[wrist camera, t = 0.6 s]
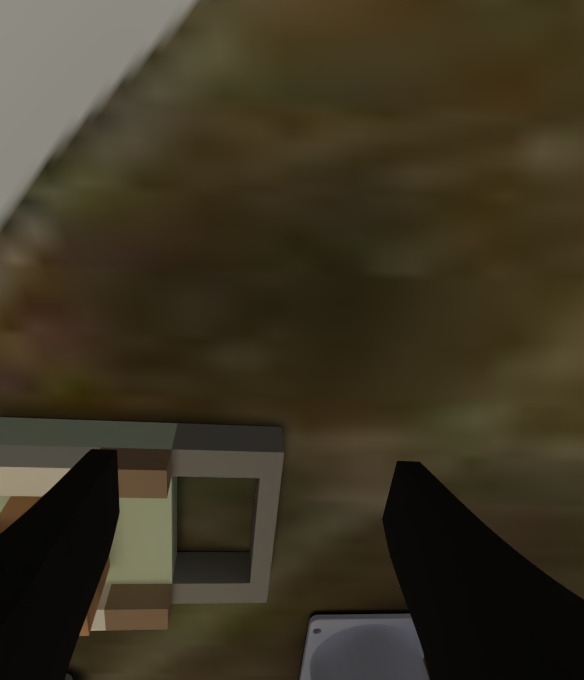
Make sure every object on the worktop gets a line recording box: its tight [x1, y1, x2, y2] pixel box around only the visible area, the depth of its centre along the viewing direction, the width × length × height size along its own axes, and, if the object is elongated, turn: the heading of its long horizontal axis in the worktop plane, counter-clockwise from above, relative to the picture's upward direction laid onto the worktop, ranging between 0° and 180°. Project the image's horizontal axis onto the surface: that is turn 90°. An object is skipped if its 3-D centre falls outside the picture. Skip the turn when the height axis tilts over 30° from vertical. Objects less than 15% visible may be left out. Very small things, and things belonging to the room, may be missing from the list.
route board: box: [0, 417, 284, 631], centre depth 23 cm, size 10×13×3 cm
